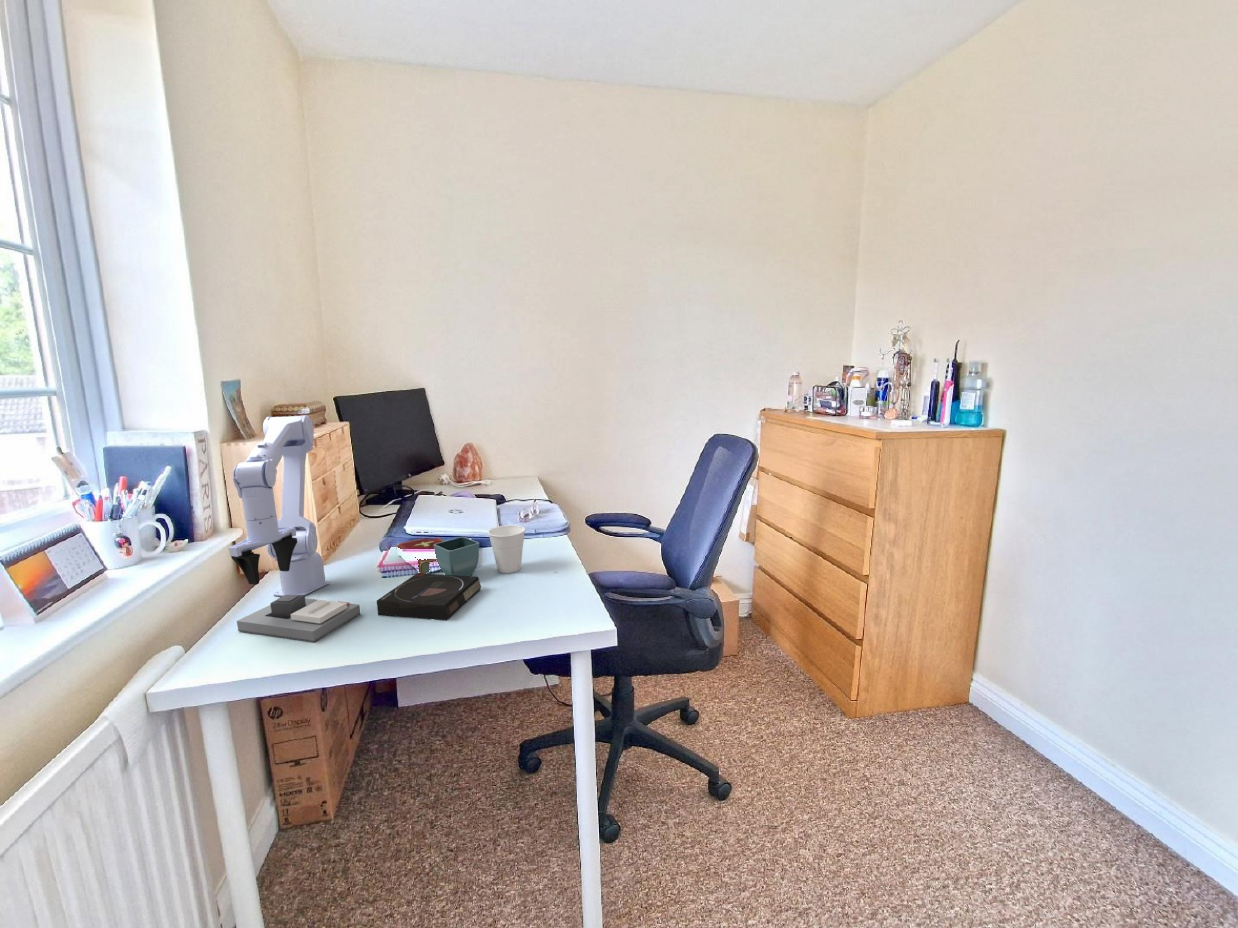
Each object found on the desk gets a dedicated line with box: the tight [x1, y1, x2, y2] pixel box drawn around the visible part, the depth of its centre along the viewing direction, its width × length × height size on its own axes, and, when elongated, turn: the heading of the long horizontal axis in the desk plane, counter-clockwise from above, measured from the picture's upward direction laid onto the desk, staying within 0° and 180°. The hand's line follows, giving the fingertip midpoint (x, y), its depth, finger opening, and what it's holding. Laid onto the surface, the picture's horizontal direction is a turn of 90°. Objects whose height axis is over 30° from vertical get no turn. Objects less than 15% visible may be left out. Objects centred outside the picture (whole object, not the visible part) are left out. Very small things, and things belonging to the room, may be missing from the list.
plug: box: [270, 594, 306, 619], centre depth 121 cm, size 5×5×5 cm
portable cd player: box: [376, 572, 482, 621], centre depth 130 cm, size 16×17×4 cm
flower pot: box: [434, 536, 480, 576], centre depth 145 cm, size 9×9×9 cm
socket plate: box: [236, 597, 362, 643], centre depth 121 cm, size 13×20×3 cm, turn 74°
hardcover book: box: [396, 537, 445, 574], centre depth 158 cm, size 12×21×4 cm, turn 38°
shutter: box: [291, 599, 347, 623], centre depth 119 cm, size 8×8×2 cm
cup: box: [487, 524, 527, 574], centre depth 148 cm, size 10×10×11 cm
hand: (269, 577), depth 121 cm, fingers open, 7 cm apart
